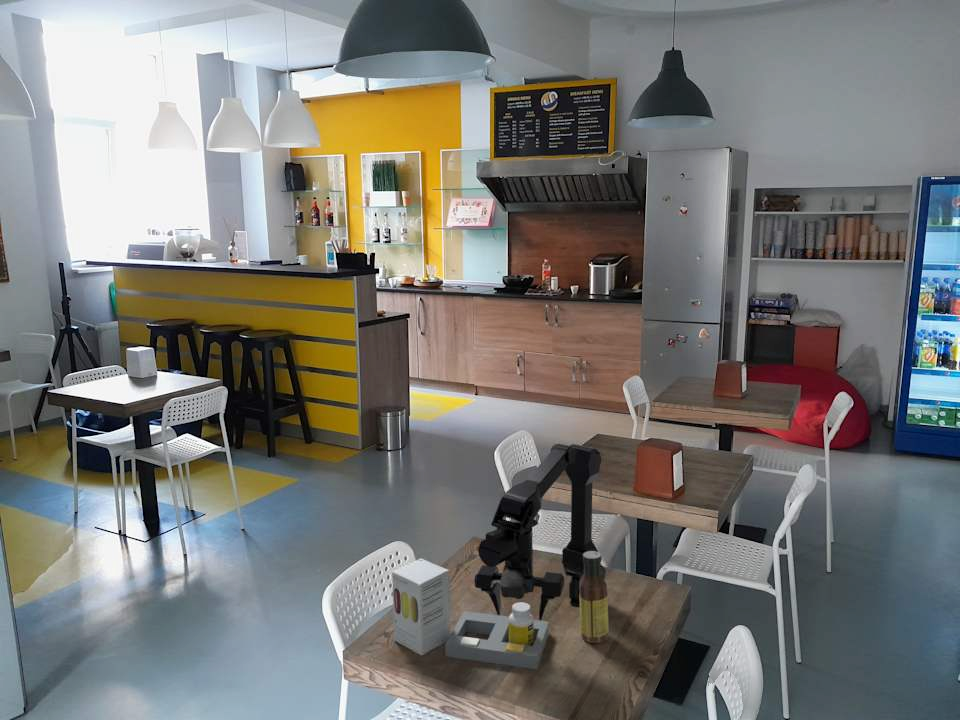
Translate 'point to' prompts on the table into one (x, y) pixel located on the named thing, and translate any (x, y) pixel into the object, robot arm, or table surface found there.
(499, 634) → the socket board
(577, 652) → the table surface
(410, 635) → the supplement box
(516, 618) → the supplement bottle
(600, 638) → the sauce bottle
